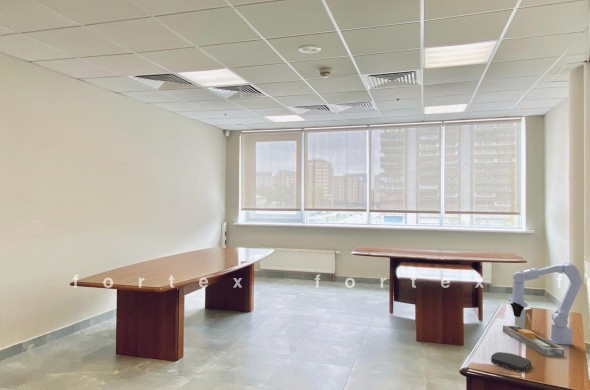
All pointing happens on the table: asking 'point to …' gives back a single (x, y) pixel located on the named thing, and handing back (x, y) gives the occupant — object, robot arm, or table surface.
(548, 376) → the table surface
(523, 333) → the orange block
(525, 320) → the small box
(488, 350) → the table surface
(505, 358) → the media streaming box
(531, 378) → the table surface
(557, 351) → the trap lane
